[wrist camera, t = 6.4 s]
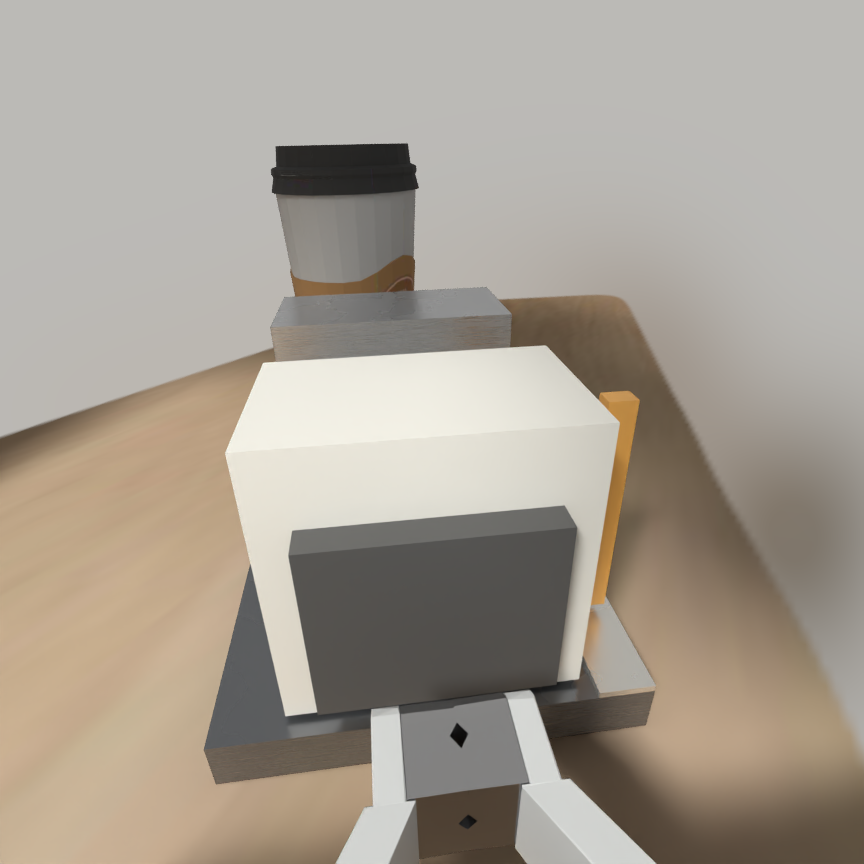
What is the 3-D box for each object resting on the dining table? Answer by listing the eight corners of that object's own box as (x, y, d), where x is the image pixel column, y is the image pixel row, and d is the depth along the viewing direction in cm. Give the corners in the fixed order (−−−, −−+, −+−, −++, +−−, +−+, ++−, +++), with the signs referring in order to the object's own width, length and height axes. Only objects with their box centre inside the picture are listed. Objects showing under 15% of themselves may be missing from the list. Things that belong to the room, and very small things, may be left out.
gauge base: (647, 725, 16) (713, 475, 12) (216, 784, 14) (124, 528, 10) (500, 434, 31) (506, 286, 27) (288, 450, 30) (263, 298, 26)
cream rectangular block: (647, 697, 15) (714, 434, 11) (282, 745, 14) (215, 475, 10) (571, 554, 20) (599, 342, 16) (301, 582, 19) (263, 362, 15)
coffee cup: (376, 430, 32) (354, 144, 25) (275, 402, 36) (231, 147, 29) (446, 382, 38) (445, 142, 31) (354, 363, 42) (334, 145, 35)
